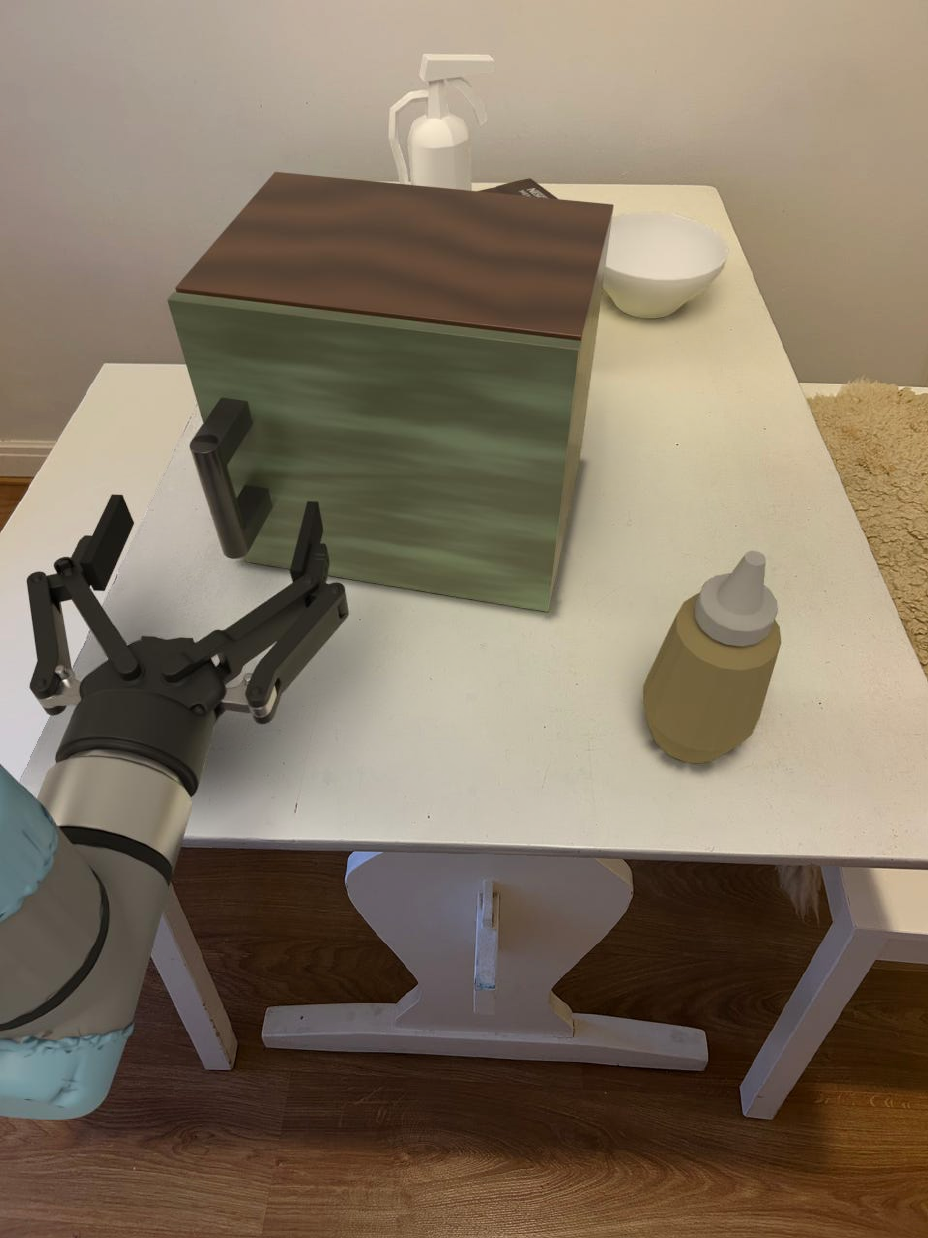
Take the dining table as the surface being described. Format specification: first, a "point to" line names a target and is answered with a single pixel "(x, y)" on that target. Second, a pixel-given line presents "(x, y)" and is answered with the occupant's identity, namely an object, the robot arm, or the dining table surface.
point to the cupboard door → (383, 443)
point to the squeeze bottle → (715, 665)
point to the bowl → (660, 262)
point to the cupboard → (422, 264)
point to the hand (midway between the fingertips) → (219, 511)
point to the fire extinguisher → (440, 123)
